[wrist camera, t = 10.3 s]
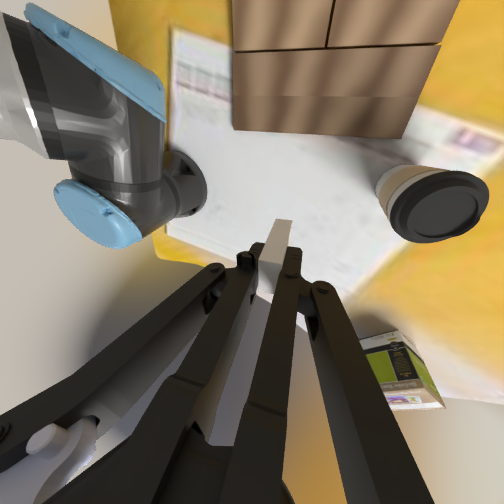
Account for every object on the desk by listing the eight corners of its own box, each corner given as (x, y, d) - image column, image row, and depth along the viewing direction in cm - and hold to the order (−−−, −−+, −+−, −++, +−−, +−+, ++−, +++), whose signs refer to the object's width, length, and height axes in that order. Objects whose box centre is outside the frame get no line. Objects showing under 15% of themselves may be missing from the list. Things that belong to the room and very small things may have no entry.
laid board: (235, 130, 35) (233, 130, 34) (235, 56, 29) (232, 53, 28) (398, 138, 29) (401, 138, 28) (436, 48, 24) (441, 45, 23)
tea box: (366, 358, 61) (379, 412, 49) (348, 341, 59) (356, 394, 47) (418, 348, 52) (448, 411, 41) (398, 328, 50) (424, 389, 39)
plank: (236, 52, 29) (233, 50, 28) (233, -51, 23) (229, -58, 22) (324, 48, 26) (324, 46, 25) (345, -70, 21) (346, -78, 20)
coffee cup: (357, 197, 36) (378, 231, 24) (394, 148, 30) (446, 160, 18) (399, 216, 35) (443, 261, 23) (444, 170, 30) (531, 198, 18)
